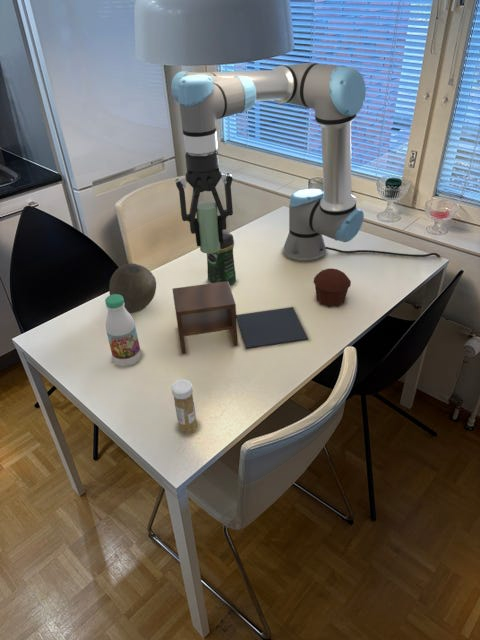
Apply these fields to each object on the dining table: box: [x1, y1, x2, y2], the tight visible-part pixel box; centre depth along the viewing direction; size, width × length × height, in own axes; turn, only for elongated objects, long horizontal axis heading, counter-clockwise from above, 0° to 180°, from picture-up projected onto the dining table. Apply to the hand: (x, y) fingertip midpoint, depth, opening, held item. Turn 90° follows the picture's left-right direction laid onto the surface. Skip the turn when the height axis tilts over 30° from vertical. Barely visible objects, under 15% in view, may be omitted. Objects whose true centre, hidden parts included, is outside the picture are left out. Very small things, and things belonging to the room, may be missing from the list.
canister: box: [196, 200, 220, 255], centre depth 124 cm, size 5×5×12 cm
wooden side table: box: [171, 281, 239, 355], centre depth 139 cm, size 16×12×14 cm
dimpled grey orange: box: [108, 263, 157, 314], centre depth 152 cm, size 14×14×15 cm
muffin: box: [312, 267, 352, 308], centre depth 154 cm, size 12×11×10 cm
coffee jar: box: [206, 230, 237, 287], centre depth 162 cm, size 10×8×19 cm
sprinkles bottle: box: [171, 379, 199, 435], centre depth 112 cm, size 5×5×14 cm
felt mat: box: [236, 306, 309, 350], centre depth 146 cm, size 18×16×1 cm
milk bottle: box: [104, 294, 142, 367], centre depth 131 cm, size 8×8×20 cm
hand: (209, 242), depth 126 cm, fingers closed on canister, 5 cm apart
